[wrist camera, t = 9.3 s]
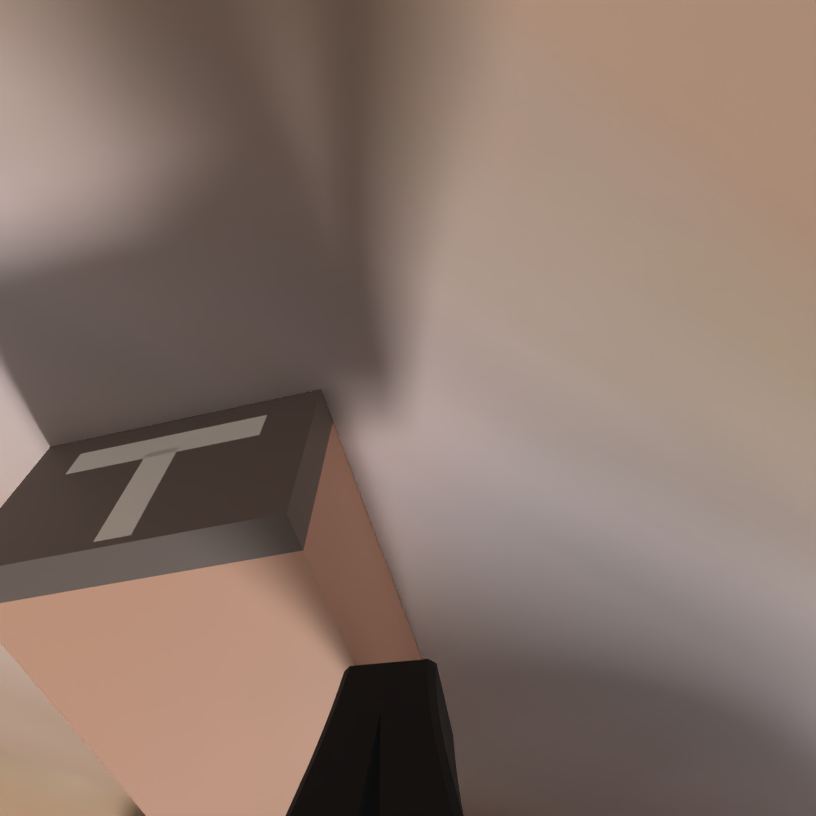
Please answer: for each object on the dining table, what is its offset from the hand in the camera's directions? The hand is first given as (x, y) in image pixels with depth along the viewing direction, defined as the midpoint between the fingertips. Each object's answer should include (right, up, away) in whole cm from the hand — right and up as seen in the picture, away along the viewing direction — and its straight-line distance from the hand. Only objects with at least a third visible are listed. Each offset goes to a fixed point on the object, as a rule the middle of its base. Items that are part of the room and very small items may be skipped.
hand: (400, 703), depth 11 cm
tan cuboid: (-4, +4, 0) cm, 5 cm away
